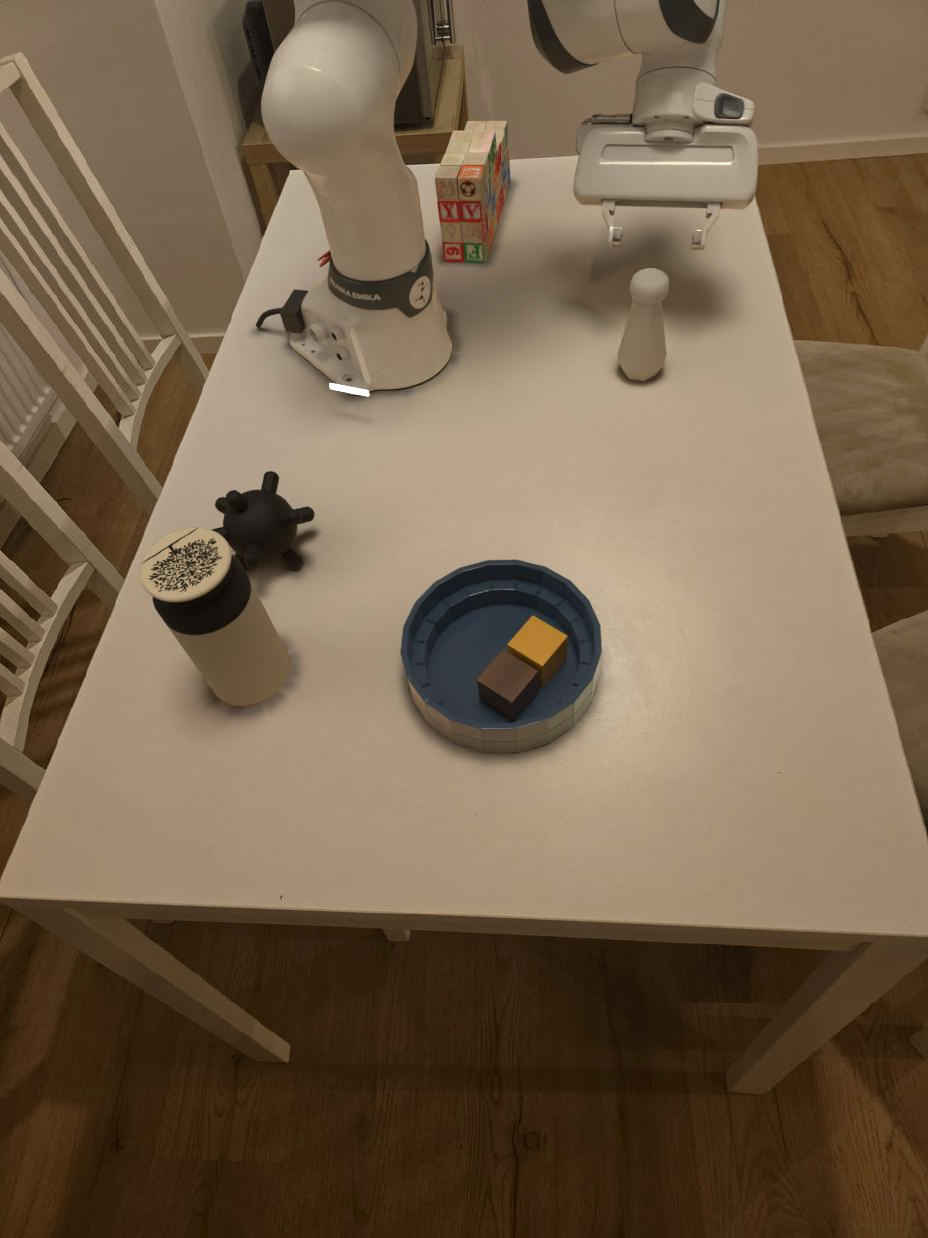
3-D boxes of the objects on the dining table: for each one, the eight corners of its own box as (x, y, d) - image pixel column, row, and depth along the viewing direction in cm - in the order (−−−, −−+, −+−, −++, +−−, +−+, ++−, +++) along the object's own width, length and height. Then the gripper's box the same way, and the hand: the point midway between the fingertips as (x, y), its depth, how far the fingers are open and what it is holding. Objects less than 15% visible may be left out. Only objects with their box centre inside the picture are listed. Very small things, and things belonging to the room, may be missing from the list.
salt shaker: (673, 372, 99) (688, 277, 89) (637, 392, 98) (648, 298, 87) (642, 349, 102) (653, 253, 92) (606, 367, 101) (613, 273, 90)
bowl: (371, 687, 78) (360, 658, 74) (486, 564, 85) (482, 531, 81) (523, 794, 71) (521, 769, 66) (634, 650, 78) (640, 618, 74)
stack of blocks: (472, 182, 128) (465, 97, 118) (511, 182, 127) (508, 97, 117) (443, 261, 117) (433, 175, 106) (486, 263, 115) (480, 176, 105)
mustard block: (508, 666, 78) (507, 644, 74) (533, 637, 79) (532, 614, 76) (542, 687, 76) (542, 666, 73) (567, 658, 78) (567, 635, 74)
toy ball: (342, 558, 84) (227, 589, 79) (313, 561, 93) (210, 589, 88) (314, 457, 82) (196, 482, 77) (288, 470, 92) (181, 494, 87)
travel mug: (304, 681, 79) (248, 570, 64) (230, 723, 77) (155, 618, 63) (271, 626, 83) (211, 509, 68) (200, 664, 81) (122, 553, 67)
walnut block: (479, 700, 76) (476, 679, 73) (505, 670, 77) (503, 648, 74) (513, 723, 74) (511, 703, 71) (539, 692, 76) (538, 670, 72)
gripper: (576, 102, 89) (563, 236, 92) (770, 102, 85) (749, 243, 88) (580, 124, 95) (567, 250, 98) (761, 126, 91) (742, 257, 94)
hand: (655, 247), depth 93 cm, fingers open, 8 cm apart
